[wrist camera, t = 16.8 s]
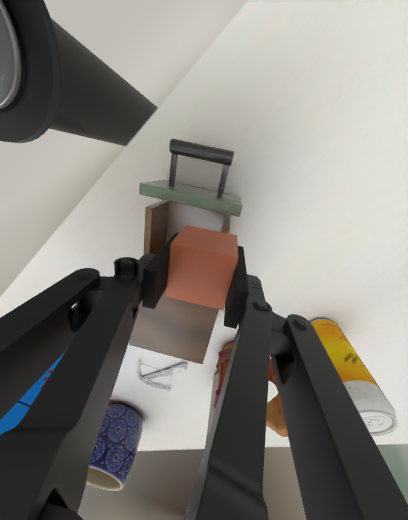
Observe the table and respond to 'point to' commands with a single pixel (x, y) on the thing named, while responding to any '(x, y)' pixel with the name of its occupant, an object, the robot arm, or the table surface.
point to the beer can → (357, 379)
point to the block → (201, 266)
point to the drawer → (188, 199)
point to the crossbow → (160, 375)
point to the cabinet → (174, 328)
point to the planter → (115, 448)
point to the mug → (273, 407)
